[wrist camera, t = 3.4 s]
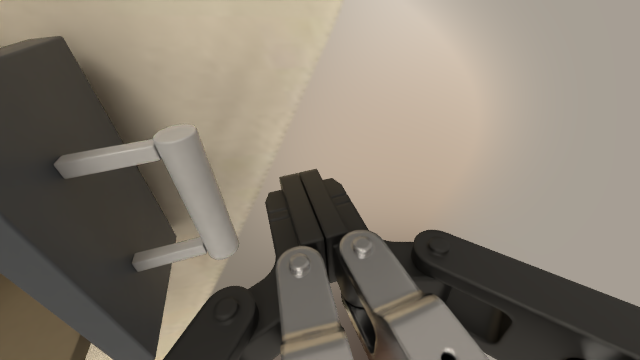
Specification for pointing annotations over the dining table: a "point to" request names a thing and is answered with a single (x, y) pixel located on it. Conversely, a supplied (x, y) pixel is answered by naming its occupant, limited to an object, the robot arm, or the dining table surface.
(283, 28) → the dining table surface
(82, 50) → the dining table surface
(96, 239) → the drawer
